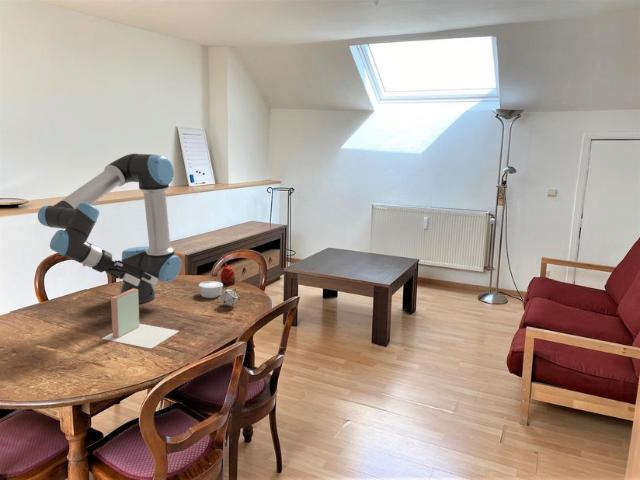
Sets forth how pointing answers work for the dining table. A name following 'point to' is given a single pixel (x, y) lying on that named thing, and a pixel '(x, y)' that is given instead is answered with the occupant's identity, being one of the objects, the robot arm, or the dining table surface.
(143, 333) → the rubber mat
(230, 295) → the game die
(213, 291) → the ramekin
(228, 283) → the red clay folk toy
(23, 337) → the dining table surface
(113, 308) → the terracotta tile
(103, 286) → the dining table surface
